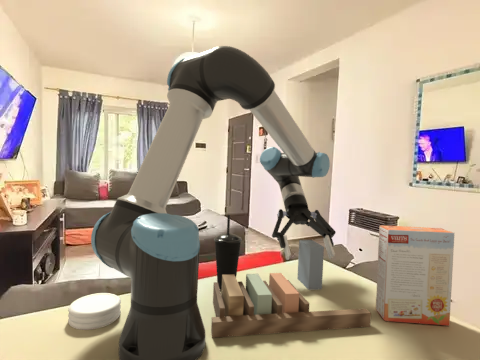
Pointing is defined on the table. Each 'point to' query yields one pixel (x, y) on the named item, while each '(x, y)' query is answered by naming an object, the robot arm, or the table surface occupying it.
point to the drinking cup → (227, 253)
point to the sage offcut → (258, 294)
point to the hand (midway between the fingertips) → (310, 257)
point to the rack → (281, 317)
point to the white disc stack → (94, 311)
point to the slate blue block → (310, 264)
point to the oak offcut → (232, 296)
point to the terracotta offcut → (284, 292)
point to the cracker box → (414, 274)
